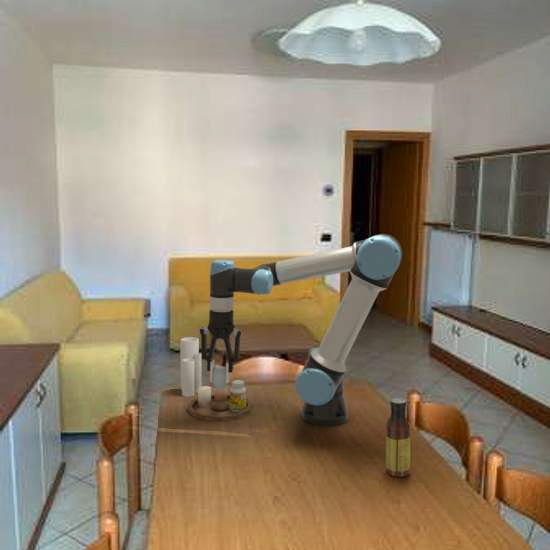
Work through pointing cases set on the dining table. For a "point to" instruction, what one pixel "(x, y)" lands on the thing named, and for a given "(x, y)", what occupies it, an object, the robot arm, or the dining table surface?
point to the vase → (190, 366)
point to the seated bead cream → (204, 396)
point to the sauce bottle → (398, 440)
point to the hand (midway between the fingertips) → (219, 381)
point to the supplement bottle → (238, 396)
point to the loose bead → (219, 377)
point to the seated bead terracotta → (220, 394)
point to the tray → (217, 410)
